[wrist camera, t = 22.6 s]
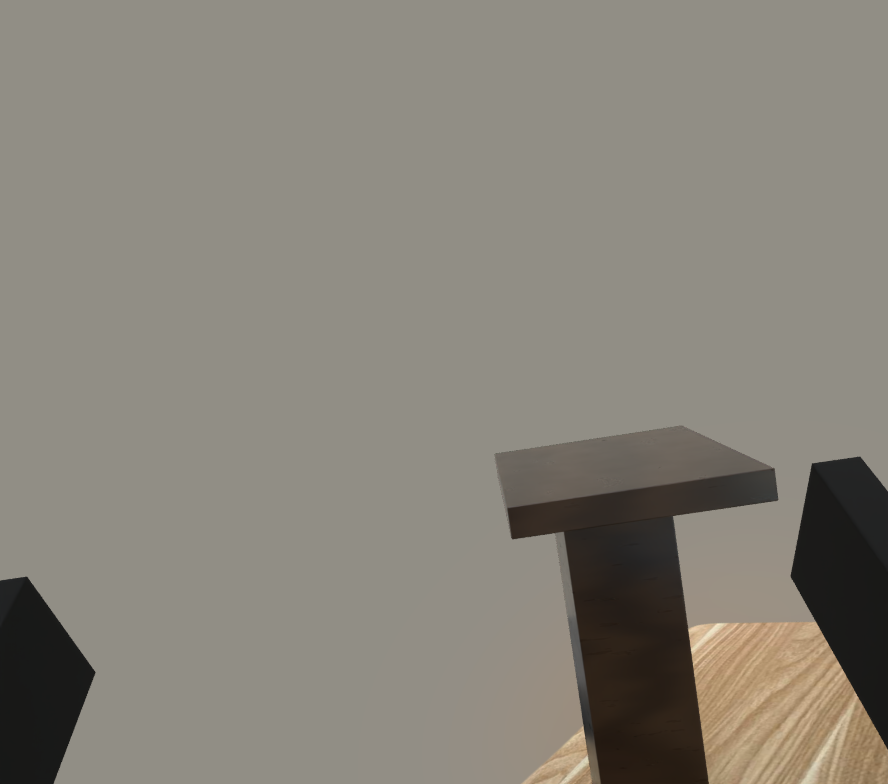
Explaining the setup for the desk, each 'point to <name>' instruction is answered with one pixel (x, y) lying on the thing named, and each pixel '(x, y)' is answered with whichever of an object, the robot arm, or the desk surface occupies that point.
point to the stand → (630, 582)
